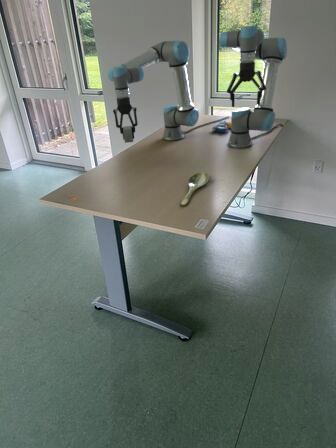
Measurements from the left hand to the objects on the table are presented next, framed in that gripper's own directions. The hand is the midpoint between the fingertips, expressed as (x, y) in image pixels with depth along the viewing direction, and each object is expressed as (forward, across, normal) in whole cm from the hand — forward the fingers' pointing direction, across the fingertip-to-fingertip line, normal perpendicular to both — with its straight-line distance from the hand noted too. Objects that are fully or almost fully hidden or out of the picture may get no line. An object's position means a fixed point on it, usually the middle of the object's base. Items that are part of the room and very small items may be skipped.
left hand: (128, 138), depth 196 cm
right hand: (-15, +65, -12) cm, 68 cm away
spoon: (+18, +32, -42) cm, 55 cm away
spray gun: (+17, +69, +59) cm, 93 cm away
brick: (+1, 0, 0) cm, 1 cm away
